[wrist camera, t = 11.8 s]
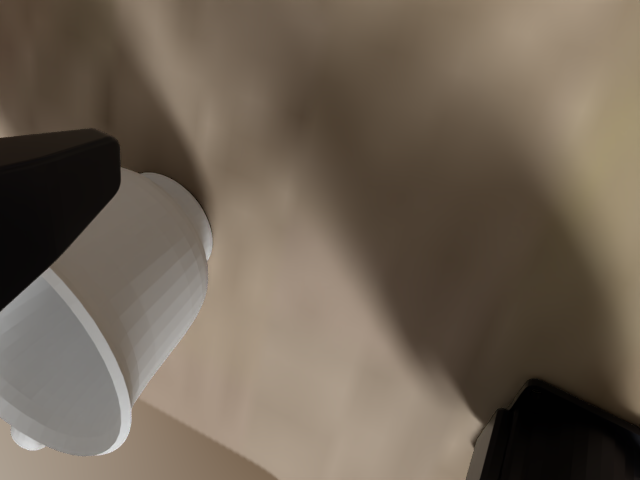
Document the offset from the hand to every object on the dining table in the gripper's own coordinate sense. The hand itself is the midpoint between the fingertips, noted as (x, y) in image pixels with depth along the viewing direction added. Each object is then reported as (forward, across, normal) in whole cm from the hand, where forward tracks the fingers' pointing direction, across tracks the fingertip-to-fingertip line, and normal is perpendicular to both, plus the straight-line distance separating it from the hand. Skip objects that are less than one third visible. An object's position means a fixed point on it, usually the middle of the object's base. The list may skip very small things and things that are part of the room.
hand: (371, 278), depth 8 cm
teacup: (+13, +13, +15) cm, 24 cm away
